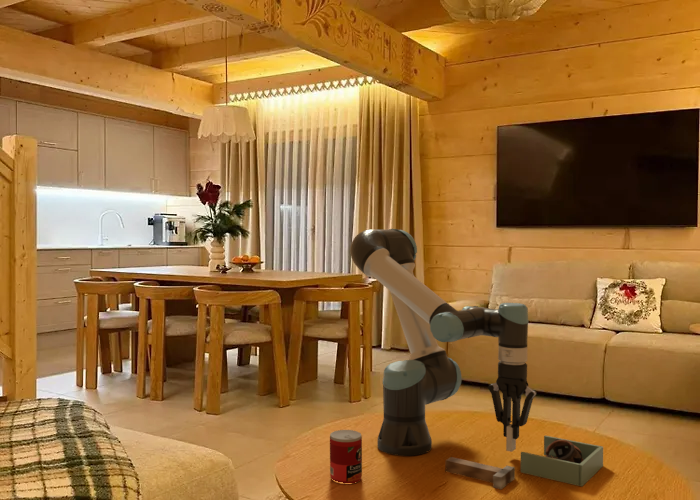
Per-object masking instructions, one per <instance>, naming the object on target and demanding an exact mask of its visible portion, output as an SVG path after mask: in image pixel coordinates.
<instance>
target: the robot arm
mask: <svg viewBox="0 0 700 500" xmlns="http://www.w3.org/2000/svg"><path fill="white" fill-rule="evenodd" d="M349 253H350V256H351V260H352V262H353V264H354V265H355V266H356V267H357V269H358V270H360V271H361V272H362V273H363V275H365V276H367V277H368V278H374V279H375V280H376V281H377V282H378V283H380V284H381V285H382V286H384V288H386V289H387V290H388V291H389V293H390V295H391V296H390V297H391V299H392V302H393V304H394V305H393V306H394V307H395V311H396V314H397V317H398V319H399V322H400V326H401V329H402V331H403V332H402V333H403V336H404V338H405V341H406V344H407V346H408V350H409V353H410V357H409V358H408V359H405V360H398V361H394V362H391V363H389V364H388V365H386V367H385V368H384V369H383V378H382V389H383V391H382V392H383V393H382V394H383V395H382V397H383V398H382V400H383V403H382V404H383V405H382V406H383V408H382V409H383V420H382V423H381V427H380V430H379V432H378V435H377V436H378V437H377V442H376V443H377V449H378V450H379V451H381V452H382V453H385V454H389V455H393V456H403V457H404V456H406V457H410V456H418V455H423V454H426V453H428V452H430V451H431V450H432V445H433V444H432V437H431V434H430V430H429V428H428V424H427V421H426V406H427V405H429V404H433V403H436V402H440V401H444V400H447V399H449V398H450V397H453V396H454V395H456V393H457V392H458V391H459V390H460V387H461V384H462V377H463V375H462V371H461V368H460V366H459V364H458V362H456V361H455V360H453V359H452V358H451V357H448V354H447V352H446V349H445V348H443V347H441V346H439V344H438V342H440V343H452V342H457V341H460V340H463V339H469V338H474V337H480V336H484V337H492V338H497V339H498V341H497V343H498V347H497V349H498V350H497V351H498V353H497V355H498V356H497V359H498V363H497V378H496V382H494V383H491V384H489V385H488V386H487V388H488V390H489V392H490V394H491V398H492V404H493V408H494V413H495V418H496V421H497V422H499V423H500V424H502V425H503V428H502V429H503V437H505V439H506V444H505V445H506V446H505V447H506V448H505V451H506V452H513V451H515V450H516V447H517V446H516V444H517V443H516V442H517V439H518V438H519V437H520V427H523V426H525V425H527V422H528V418H529V415H530V411H531V407H532V404H533V400H534V398H535V397H536V396H537V393H538V392H537V390H535V389H534V390H533V389H532V388H531V387H529V382H528V379H527V378H528V364H527V363H526V362H528V333H529V332H528V331H529V313H528V312H529V309H528V307H527V305H526V304H525V303H518V302H502V303H500V304H499V305H498V309H497V308H490V307H489V308H488V307H483V306H482V307H481V306H480V307H479V306H478V305H477V306H476V305H474V306H473V305H472V306H471V305H470V306H469V305H467V306H464V307H462V309H460V310H457V308H454V307H453V306H452V305H451V304H449V303H448V302H447V301H446V300H444V299H443V298H442V297H440V296H439V294H437V293H436V292H434V291H433V290H432V289H430V288H429V287H428V286H427V285H425V284H424V283H423V282H422V281H421V280H420V279H418V278H417V277H415V275H414V272H413V271H414V269H415V267H416V262H415V260H416V258H417V253H418V245H417V244H416V241H415V239H414V237H413V236H412V235H411V234H410V233H409V232H407V231H405V230H403V229H398V228H390V229H373V228H372V229H366V230H362V231H360V232H359V233H357V235H355V237H354V238H353V240H352V242H351V245H350V251H349ZM500 392H501V393H502V399H501V393H500ZM524 394H525V395H524ZM522 395H524V396H525V398H524V403H523V405H522V409H521V401H522ZM502 401H503V402H502Z"/></svg>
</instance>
